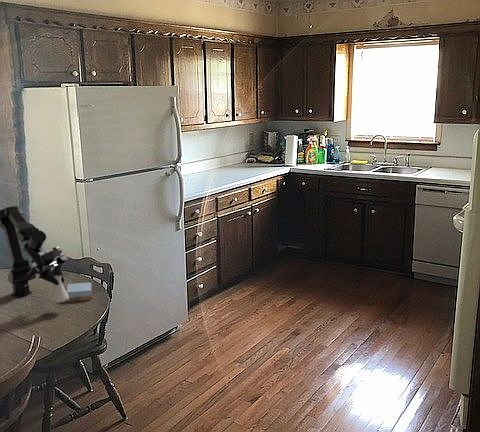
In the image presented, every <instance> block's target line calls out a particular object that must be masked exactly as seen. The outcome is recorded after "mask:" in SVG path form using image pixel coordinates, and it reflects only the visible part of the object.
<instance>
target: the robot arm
mask: <svg viewBox="0 0 480 432" xmlns="http://www.w3.org/2000/svg"><path fill="white" fill-rule="evenodd" d="M0 228H1V229H2V230H3V231H4V235H5V236H4V237H5V239H6V242H7V243H6V244H7V248H8V250H9V256H10V258H11V259H10V260H11V264H10V266H9V273H8V275H7V280H8V283H10V284H11V285H12V291H13V292H12V293H10V296H13V297H18V298H23V297H25V296H28V295H30V294H32V293H33V291H32V290H30V283H29V281H32V280H35V279H36V277H37V275H39V276H38V279H39V280H40V279H42V280H45V281H47V282H49V283H51V284H53V285H58V284H59V283H58V281H57V279H56V278H55V277H54V276H58V275H60V276H61V281H62V284H63V283H64V282H65V279H64V275H63V272H62V267H63V266H64V265H65V263H67V261H68V260H69V258H68V256H67V255H66V254H63V255H61V254H62V252H63V250H62V248H60V246H58V245H57V246H55V247H52V250H51V251H49V250H48V249H45V250H44V248H43V246H44V243H45V241H46V240H47V234H46V233H45V232H44V231H43V230H40V229H39V228H38V227H36V226H35V225H34V224H33V223H30V222H28V221H27V220H26V218H25V217H24V216H23V214H22V213H21V211H20V210H19V208H18V205H17V206H15V205H14V206H13V205H12V206H6V207H4V208H3V209H0ZM19 241H20V242H21V243H25V242H26V243H25V244H23V246H22V249H21V245H20V242H19ZM22 251H23V252H26V253H27V255H28V256H29V258H31V261H30V263H32V264H35V265H36V266H35V265H34V266H33V267H32V268H31V266H30V263H29V259H28V260H27V259H25V258H24V256H23V253H22Z"/></svg>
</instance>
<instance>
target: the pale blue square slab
mask: <svg viewBox="0 0 480 432" xmlns="http://www.w3.org/2000/svg"><path fill="white" fill-rule="evenodd" d="M92 288H93V287H92V282H79V283H68V284H67V288H66V292H67V294H68V295H69V298H71V297H83V296H91V297H92V290H93V289H92Z"/></svg>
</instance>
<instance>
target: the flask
mask: <svg viewBox="0 0 480 432" xmlns="http://www.w3.org/2000/svg"><path fill="white" fill-rule="evenodd" d="M54 277H55V278H56V279H57V281H58V283H59V284H58V285H55V284H53V285H54V286H53V287H54V288H53V291H52V296H51V300H50V301H51V303H56V304H57V303H63V302H64V303H65V302H67V300H68V299H69V295H68V294H67V289H65V286H64V285H63V283H62V281H61V276H60V275H58V276H54Z"/></svg>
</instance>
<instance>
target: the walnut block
mask: <svg viewBox="0 0 480 432" xmlns="http://www.w3.org/2000/svg"><path fill="white" fill-rule="evenodd" d="M91 298H92V295H91V296H83V297H71V298H69V299H68V300H66V302H67V303H71V302H81V301H82V302H83V301H92V299H91Z"/></svg>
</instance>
